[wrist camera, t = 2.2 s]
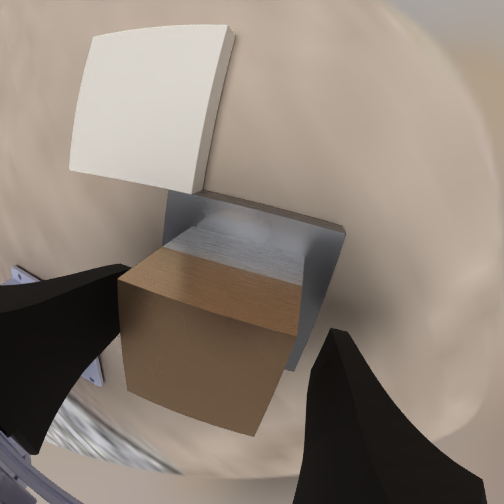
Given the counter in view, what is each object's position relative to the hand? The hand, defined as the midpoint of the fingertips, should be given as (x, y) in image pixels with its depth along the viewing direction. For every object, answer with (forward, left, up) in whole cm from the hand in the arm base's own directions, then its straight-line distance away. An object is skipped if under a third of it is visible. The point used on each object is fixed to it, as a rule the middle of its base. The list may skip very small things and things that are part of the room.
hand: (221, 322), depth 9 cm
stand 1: (-6, +7, -4) cm, 10 cm away
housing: (0, 0, -2) cm, 2 cm away
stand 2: (0, 0, -4) cm, 4 cm away
